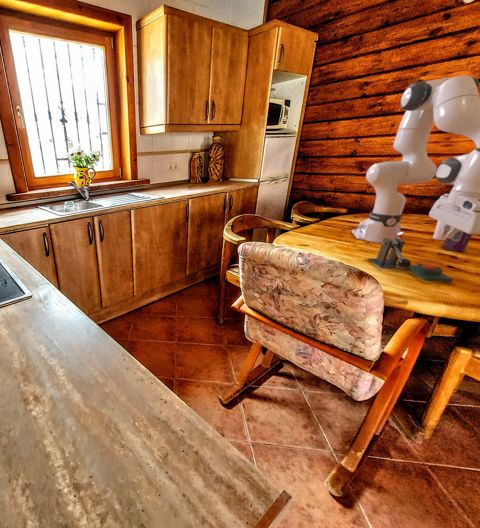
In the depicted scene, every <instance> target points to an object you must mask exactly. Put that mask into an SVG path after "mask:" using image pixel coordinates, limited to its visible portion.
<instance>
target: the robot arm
mask: <svg viewBox="0 0 480 528" xmlns="http://www.w3.org/2000/svg"><path fill="white" fill-rule="evenodd" d="M479 81H480V80H479V79H478V78H477V77H474V76H470V75H465V74H464V75H463V74H462V75H457V76H453V77H443V78H437V79H432V80H426V81H423V80H422V81H418V82H415V83H414V82H413V83H412V84H410V85H409V86H407V87H406V89H405V90H404V91H403V93H402V94H401V98H400V102H399V104H400V108H401V110H403V111H405V112H404V114H403V116H402V119H401V120H400V123H399V126H398V129H397V131H396V132H397V133H396V135H395V138H394V142H393V144H392V147H393V149H394V151H396V152H398V153H400V154H401V156H402V160H395V161H394V160H393V161H391V160H390V161H382V162H377V163H374V164H372V165H371V166H370V167H369V168H368V169H367V170H366V174H365V179H366V181H367V182H368V184H370V185H371V186H372V188H373V189H374V192H375V201H374V205H373V209H372V211H370V212H369V215H368V217H367V218H366V219H365V220H362V221H360V222H359V223H358V224H357V226H356V228H355V229H352V230H351V231H350V232H351V233H352V234H353V236H354V237H355V239H356V240H361V241H367V242H371V243H376V244H382V242H383V239H384V238H388V239H395V238H399V239H401V238H400V237H399V236H400V235H402V234H403V233H404V232H403V231H402V232H401V229H402V228H401V227H402V224H401V223H400V222H401V220H402V218H403V211H404V208H405V205H406V203H407V198H406V196H405V195H404V194H403V193H401V192H398V189H397V188H398V186H415V185H422V184H425V183H429V182H430V181H432V179H433V178H435V179H436V181H437V182H438V183H439V184H444V185H453V187H452V188H451V189H450V192H449V193H444V194H442V195H441V196H440V197H439V198H438V199H437V200H436V201H435V202H434V203H433V205H432V207H431V209H430V211H429V213H428V217H430V218H431V219H434V220H436V221H437V222H438V221H440V222H443V225H442V233H441V236H444V237H446V238H450V239H451V238H453V236H454V234H456V233H457V232H459V231H460V230H461V231H463V232H465V233H468V234H472V235H480V93H479V88H480V82H479ZM433 126H435V127H436V128H437V129H438V130H439V131H442V132H444V133H450V134H454V135H457V136H462V137H465V138H467V139H470V140H471V141H473V143H474V144H475V146H476V148H475V149H473V150H472V151H471V152H469V153H466V154H465V153H464V154H461V155H456V156H450V157H447V158H445V159H443V161H442V162H440V164H439V165H438V166H436V164H435V163H434V162H433V161H432V160H431V159H430V158H429V156H428V151H427V145H428V141H429V138H430V135H431V132H432V129H433ZM450 229H451V230H450Z"/></svg>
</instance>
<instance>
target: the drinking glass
mask: <svg viewBox="0 0 480 528" xmlns="http://www.w3.org/2000/svg"><path fill="white" fill-rule="evenodd" d="M442 225H443V222H440V221H438V220H437V222H436V225H435V229H434V232H433V235H432V240H436V241H441V242H444V241H445V239H446V237H444V236H441V233H442Z"/></svg>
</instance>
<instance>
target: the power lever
mask: <svg viewBox="0 0 480 528" xmlns="http://www.w3.org/2000/svg"><path fill="white" fill-rule="evenodd" d="M389 240H391V241H393V242H392V245H391V247H390V249H392V248H393V250H394V252H395V253H396V255H397V257H398V261H397V264H398V266H399V267H401V268H404V269H406V268H407V267H409V266H410V265H412V263H411V260H409V259H408V258H405V257H404V256H403V254H402V251H401V252H400V251H399V249H398V247H397V246H398V242H397V240H396V239H389Z"/></svg>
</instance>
